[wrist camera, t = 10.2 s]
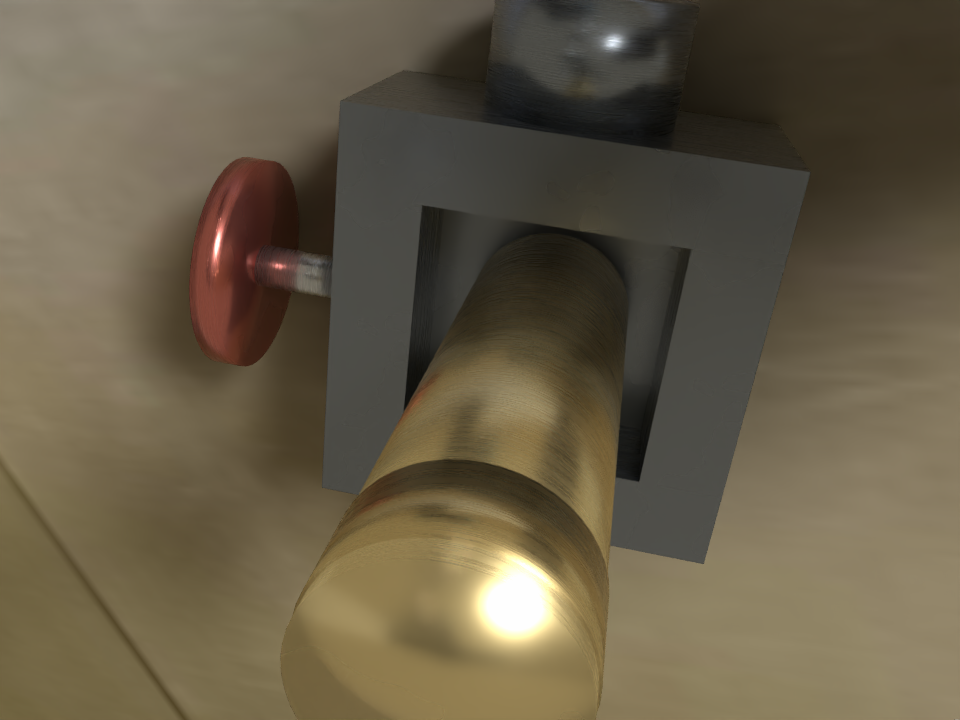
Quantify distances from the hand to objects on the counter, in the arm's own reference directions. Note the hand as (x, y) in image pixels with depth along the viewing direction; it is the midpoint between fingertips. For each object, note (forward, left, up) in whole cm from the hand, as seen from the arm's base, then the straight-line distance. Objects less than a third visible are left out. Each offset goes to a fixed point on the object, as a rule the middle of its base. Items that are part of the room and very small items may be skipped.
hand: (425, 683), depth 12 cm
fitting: (0, 0, -15) cm, 15 cm away
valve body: (0, -2, -18) cm, 18 cm away
